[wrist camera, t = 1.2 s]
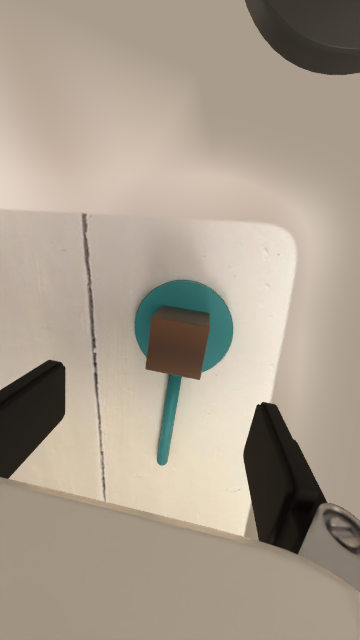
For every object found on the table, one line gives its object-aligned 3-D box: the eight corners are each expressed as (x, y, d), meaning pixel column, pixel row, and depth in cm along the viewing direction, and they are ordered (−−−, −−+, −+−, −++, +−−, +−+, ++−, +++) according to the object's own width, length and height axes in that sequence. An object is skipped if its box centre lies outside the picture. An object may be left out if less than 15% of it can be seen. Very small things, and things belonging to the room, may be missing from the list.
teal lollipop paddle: (141, 272, 20) (137, 273, 19) (242, 288, 19) (244, 290, 18) (125, 450, 26) (121, 459, 25) (201, 467, 25) (200, 477, 24)
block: (162, 304, 19) (151, 317, 15) (209, 312, 19) (210, 327, 15) (157, 347, 21) (145, 369, 17) (201, 356, 20) (199, 380, 16)
